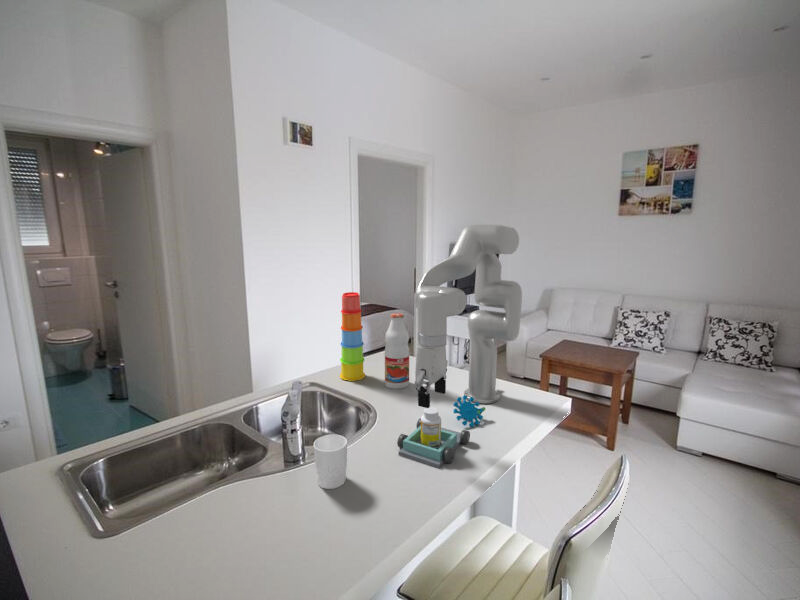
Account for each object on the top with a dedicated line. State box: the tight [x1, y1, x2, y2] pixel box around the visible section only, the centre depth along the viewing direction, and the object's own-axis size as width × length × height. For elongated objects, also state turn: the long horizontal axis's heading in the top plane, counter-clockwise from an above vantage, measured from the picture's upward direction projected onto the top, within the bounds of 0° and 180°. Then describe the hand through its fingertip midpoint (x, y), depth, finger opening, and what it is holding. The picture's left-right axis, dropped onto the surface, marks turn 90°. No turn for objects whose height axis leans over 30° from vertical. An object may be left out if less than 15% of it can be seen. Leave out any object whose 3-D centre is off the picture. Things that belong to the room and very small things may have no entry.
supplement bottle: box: [420, 407, 442, 449], centre depth 113 cm, size 6×6×10 cm
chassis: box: [396, 417, 471, 469], centre depth 115 cm, size 18×15×4 cm
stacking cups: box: [339, 291, 366, 382], centre depth 164 cm, size 10×10×35 cm
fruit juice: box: [384, 312, 410, 390], centre depth 156 cm, size 9×9×28 cm
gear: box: [453, 394, 486, 428], centre depth 130 cm, size 11×6×10 cm
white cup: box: [313, 433, 348, 490], centre depth 98 cm, size 8×8×10 cm
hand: (432, 399), depth 111 cm, fingers open, 9 cm apart
